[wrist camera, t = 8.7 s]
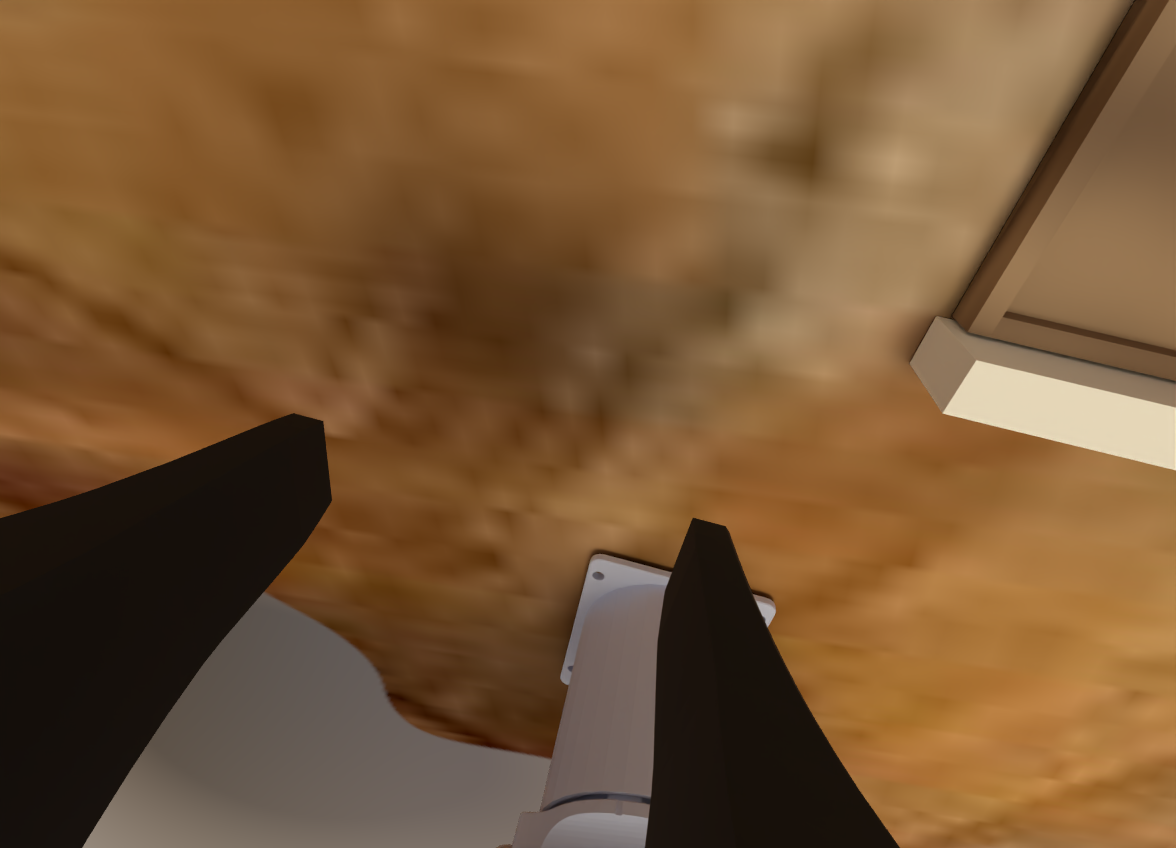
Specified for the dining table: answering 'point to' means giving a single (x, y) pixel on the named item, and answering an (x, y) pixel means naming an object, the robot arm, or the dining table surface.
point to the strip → (1048, 394)
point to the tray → (1097, 218)
